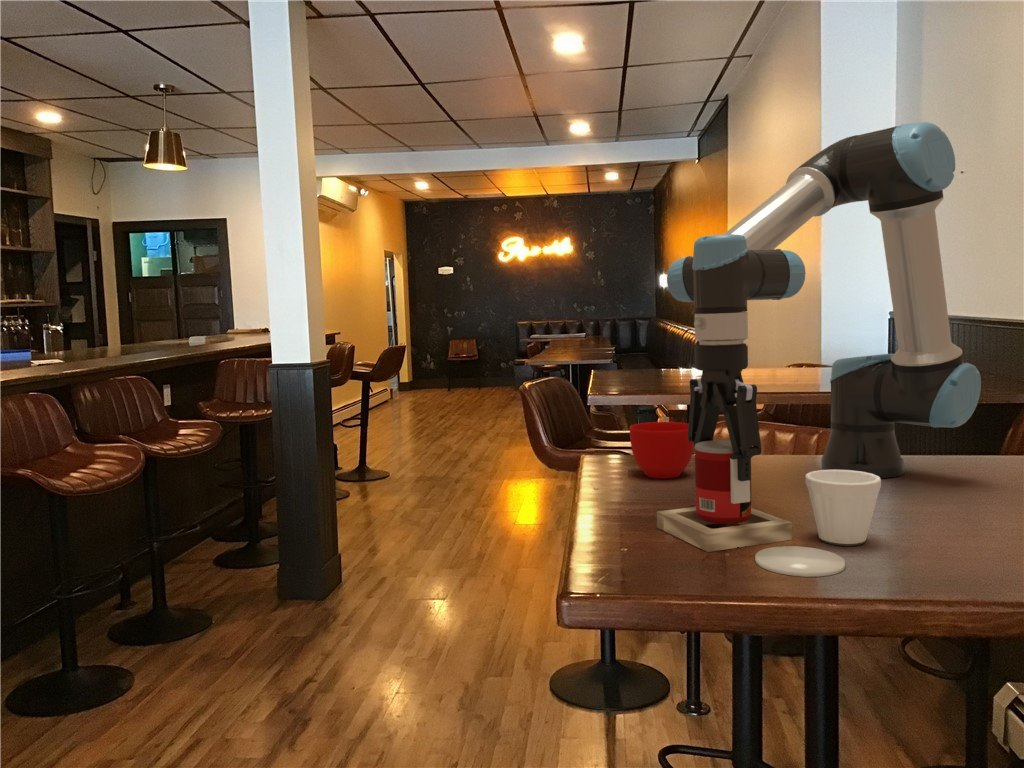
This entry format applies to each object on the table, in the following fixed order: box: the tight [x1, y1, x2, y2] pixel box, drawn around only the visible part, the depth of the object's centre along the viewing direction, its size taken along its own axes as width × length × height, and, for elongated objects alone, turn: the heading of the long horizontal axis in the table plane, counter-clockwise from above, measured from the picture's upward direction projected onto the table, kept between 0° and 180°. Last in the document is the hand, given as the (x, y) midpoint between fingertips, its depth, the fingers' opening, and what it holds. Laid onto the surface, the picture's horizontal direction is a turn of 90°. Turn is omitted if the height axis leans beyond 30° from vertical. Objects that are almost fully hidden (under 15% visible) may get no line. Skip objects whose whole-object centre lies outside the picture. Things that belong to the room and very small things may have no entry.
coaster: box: [754, 545, 846, 578], centre depth 105 cm, size 11×11×1 cm
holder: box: [656, 506, 793, 553], centre depth 120 cm, size 14×14×2 cm
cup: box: [804, 469, 882, 547], centre depth 114 cm, size 10×10×9 cm
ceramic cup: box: [629, 421, 695, 480], centre depth 164 cm, size 13×17×10 cm
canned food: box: [694, 439, 752, 525], centre depth 120 cm, size 8×8×11 cm
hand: (723, 495), depth 120 cm, fingers closed on canned food, 8 cm apart
